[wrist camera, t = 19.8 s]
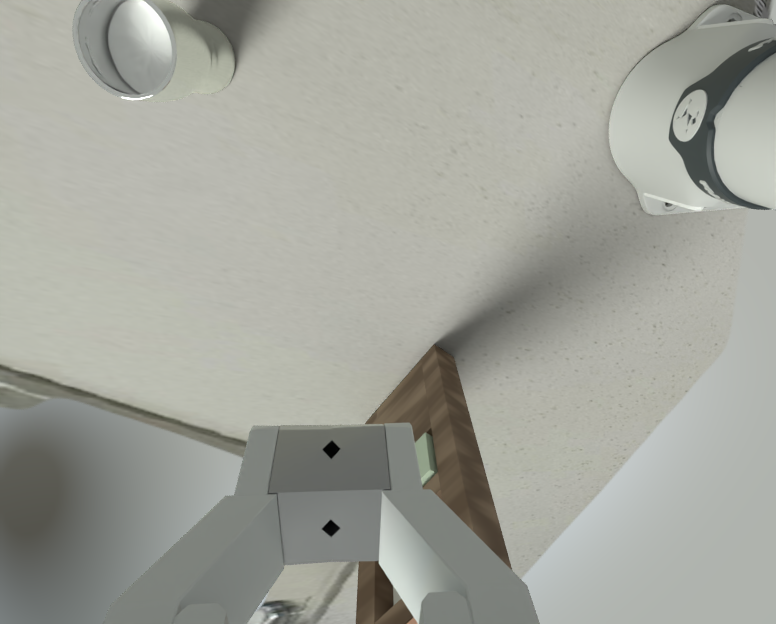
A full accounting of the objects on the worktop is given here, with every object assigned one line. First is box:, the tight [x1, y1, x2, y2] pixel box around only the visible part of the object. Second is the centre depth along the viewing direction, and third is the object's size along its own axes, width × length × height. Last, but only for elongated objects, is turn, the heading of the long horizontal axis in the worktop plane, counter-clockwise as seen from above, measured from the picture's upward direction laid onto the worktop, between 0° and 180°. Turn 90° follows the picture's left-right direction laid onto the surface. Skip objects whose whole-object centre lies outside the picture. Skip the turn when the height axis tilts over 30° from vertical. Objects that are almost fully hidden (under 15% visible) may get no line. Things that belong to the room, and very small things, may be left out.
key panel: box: [356, 344, 512, 624], centre depth 43 cm, size 3×14×37 cm, turn 144°
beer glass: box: [73, 0, 235, 102], centre depth 38 cm, size 7×7×15 cm
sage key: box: [415, 432, 438, 487], centre depth 46 cm, size 4×8×5 cm, turn 144°
